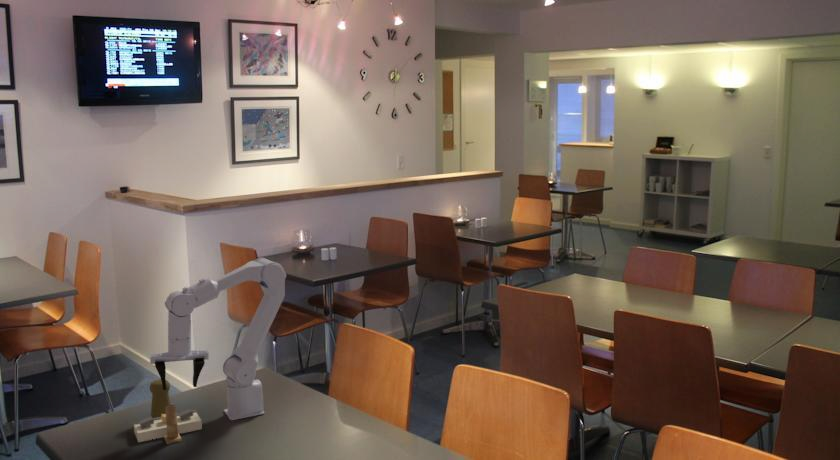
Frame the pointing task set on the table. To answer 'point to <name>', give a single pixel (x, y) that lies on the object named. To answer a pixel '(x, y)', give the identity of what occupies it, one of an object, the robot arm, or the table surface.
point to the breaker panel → (161, 427)
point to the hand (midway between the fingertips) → (179, 387)
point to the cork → (159, 398)
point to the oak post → (172, 425)
